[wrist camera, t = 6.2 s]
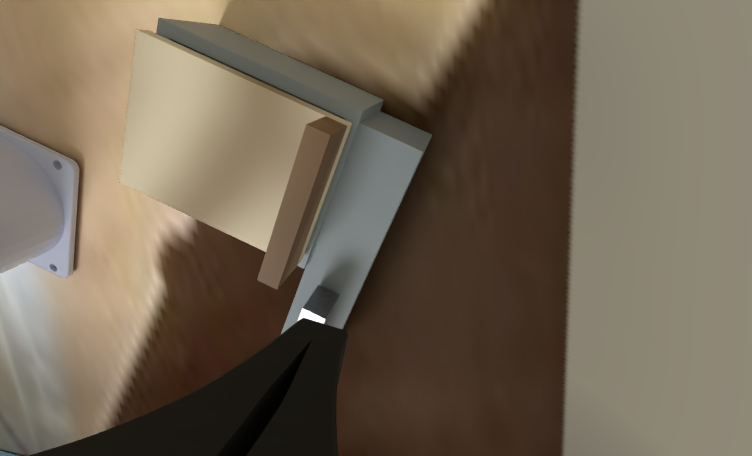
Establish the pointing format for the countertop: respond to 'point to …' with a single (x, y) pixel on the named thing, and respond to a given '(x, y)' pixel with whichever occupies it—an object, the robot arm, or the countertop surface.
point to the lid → (228, 150)
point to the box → (353, 171)
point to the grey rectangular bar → (319, 305)
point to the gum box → (7, 454)
